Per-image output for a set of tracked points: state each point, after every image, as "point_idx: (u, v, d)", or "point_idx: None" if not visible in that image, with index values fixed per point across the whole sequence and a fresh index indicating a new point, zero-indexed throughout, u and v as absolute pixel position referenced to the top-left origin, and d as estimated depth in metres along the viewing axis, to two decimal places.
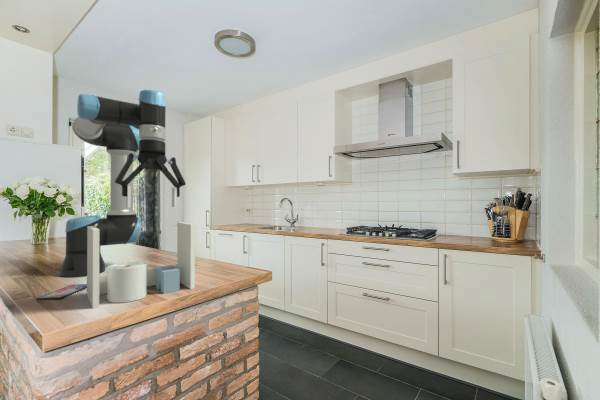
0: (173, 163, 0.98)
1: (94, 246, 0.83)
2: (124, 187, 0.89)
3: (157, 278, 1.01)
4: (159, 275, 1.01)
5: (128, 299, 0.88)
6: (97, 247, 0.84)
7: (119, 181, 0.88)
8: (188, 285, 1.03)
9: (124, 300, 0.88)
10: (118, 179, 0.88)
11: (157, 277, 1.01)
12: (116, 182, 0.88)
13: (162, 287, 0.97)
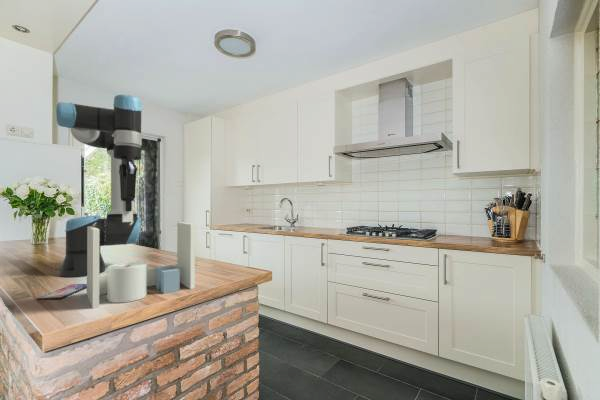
0: (126, 172, 0.89)
1: (94, 246, 0.83)
2: None
3: (157, 278, 1.01)
4: (159, 275, 1.01)
5: (128, 299, 0.88)
6: (97, 247, 0.84)
7: (121, 196, 0.94)
8: (188, 285, 1.03)
9: (124, 300, 0.88)
10: None
11: (157, 277, 1.01)
12: None
13: (162, 287, 0.97)
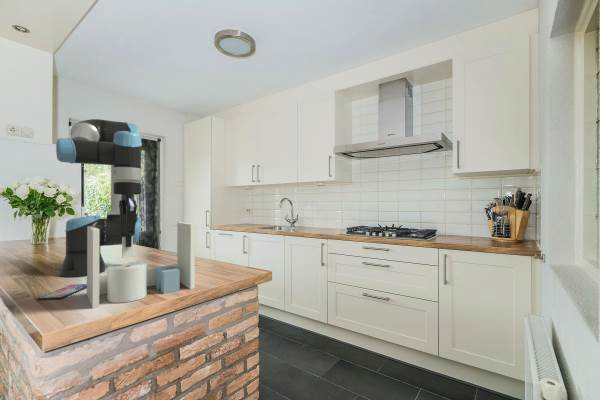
0: (126, 209, 0.89)
1: (94, 246, 0.83)
2: None
3: (157, 278, 1.01)
4: (159, 275, 1.01)
5: (128, 299, 0.88)
6: (97, 247, 0.84)
7: (120, 231, 0.95)
8: (188, 285, 1.03)
9: (124, 300, 0.88)
10: (120, 230, 0.95)
11: (157, 277, 1.01)
12: None
13: (162, 287, 0.97)
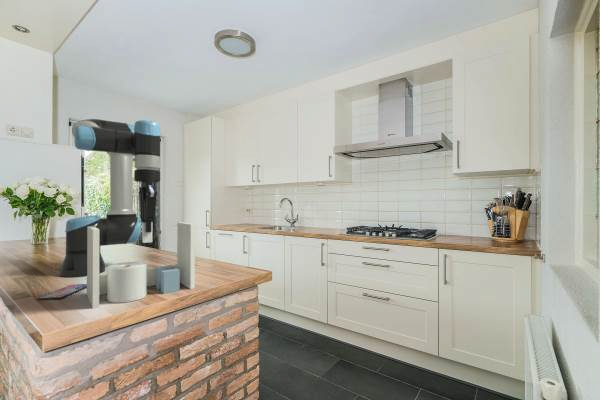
0: (147, 195, 0.92)
1: (94, 246, 0.83)
2: None
3: (157, 278, 1.01)
4: (159, 275, 1.01)
5: (128, 299, 0.88)
6: (97, 247, 0.84)
7: (140, 217, 0.98)
8: (188, 285, 1.03)
9: (124, 300, 0.88)
10: None
11: (157, 277, 1.01)
12: None
13: (162, 287, 0.97)
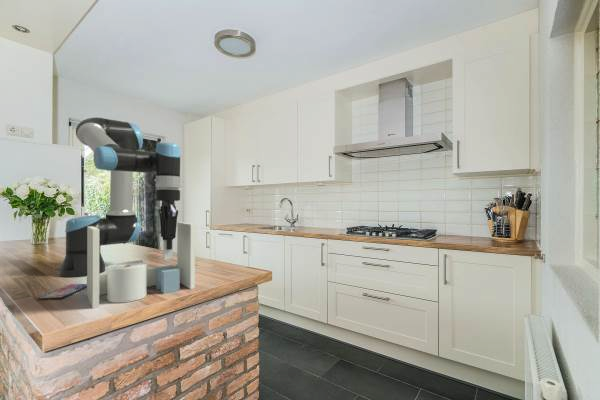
0: (169, 215, 0.96)
1: (94, 246, 0.83)
2: None
3: (157, 278, 1.01)
4: (159, 275, 1.01)
5: (128, 299, 0.88)
6: (97, 247, 0.84)
7: (161, 235, 1.02)
8: (188, 285, 1.03)
9: (124, 300, 0.88)
10: (161, 234, 1.03)
11: (157, 277, 1.01)
12: None
13: (162, 287, 0.97)
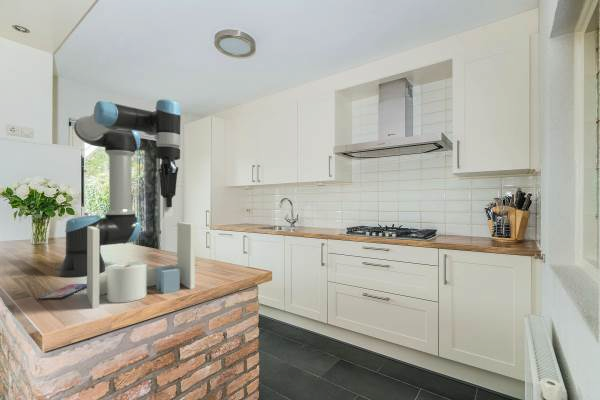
0: (168, 171, 0.97)
1: (94, 246, 0.83)
2: None
3: (157, 278, 1.01)
4: (159, 275, 1.01)
5: (128, 299, 0.88)
6: (97, 247, 0.84)
7: (161, 193, 1.02)
8: (188, 285, 1.03)
9: (124, 300, 0.88)
10: None
11: (157, 277, 1.01)
12: (162, 195, 1.03)
13: (162, 287, 0.97)
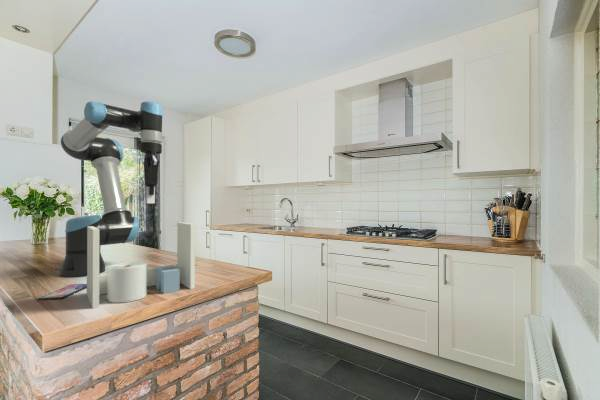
0: (151, 163, 1.12)
1: (94, 246, 0.83)
2: None
3: (157, 278, 1.01)
4: (159, 275, 1.01)
5: (128, 299, 0.88)
6: (97, 247, 0.84)
7: (145, 183, 1.18)
8: (188, 285, 1.03)
9: (124, 300, 0.88)
10: (145, 182, 1.18)
11: (157, 277, 1.01)
12: (146, 184, 1.18)
13: (162, 287, 0.97)
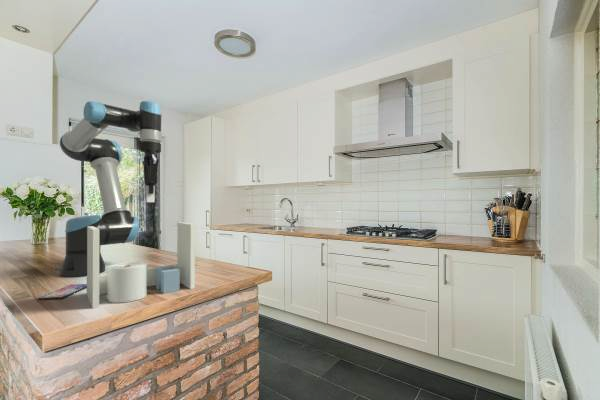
0: (150, 162, 1.13)
1: (94, 246, 0.83)
2: None
3: (157, 278, 1.01)
4: (159, 275, 1.01)
5: (128, 299, 0.88)
6: (97, 247, 0.84)
7: (144, 182, 1.18)
8: (188, 285, 1.03)
9: (124, 300, 0.88)
10: (144, 181, 1.19)
11: (157, 277, 1.01)
12: (146, 184, 1.19)
13: (162, 287, 0.97)
